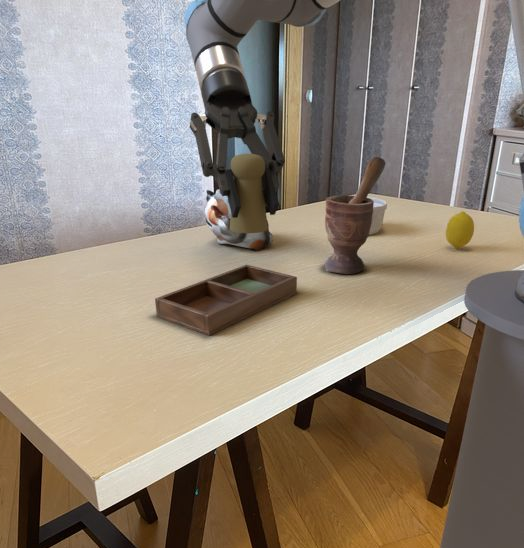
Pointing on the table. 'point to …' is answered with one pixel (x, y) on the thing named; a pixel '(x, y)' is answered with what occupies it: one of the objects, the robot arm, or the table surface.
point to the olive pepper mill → (249, 194)
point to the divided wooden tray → (225, 298)
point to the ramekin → (377, 214)
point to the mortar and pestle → (351, 222)
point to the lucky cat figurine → (220, 224)
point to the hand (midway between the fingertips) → (255, 210)
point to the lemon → (460, 230)
